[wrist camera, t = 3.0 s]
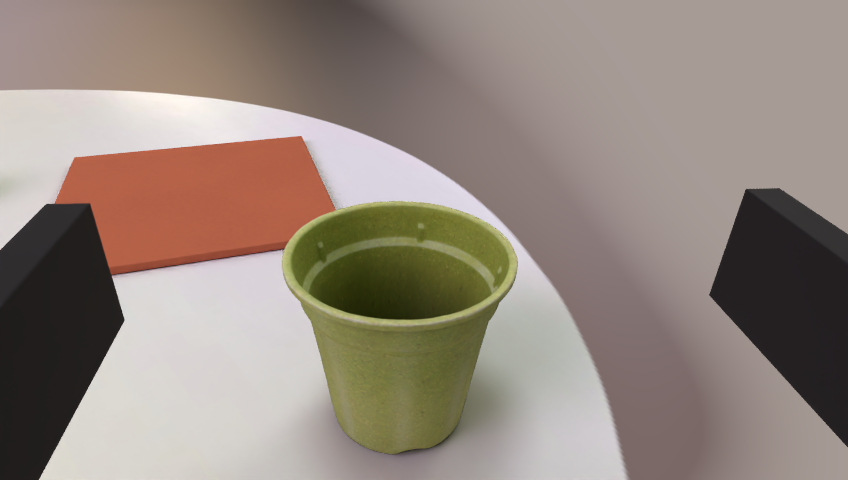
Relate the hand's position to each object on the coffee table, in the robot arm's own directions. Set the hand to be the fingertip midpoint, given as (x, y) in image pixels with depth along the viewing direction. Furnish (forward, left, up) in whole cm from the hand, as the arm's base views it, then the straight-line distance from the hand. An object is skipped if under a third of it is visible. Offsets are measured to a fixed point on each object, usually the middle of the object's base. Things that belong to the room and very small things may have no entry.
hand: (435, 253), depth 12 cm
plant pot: (-2, -9, -15) cm, 18 cm away
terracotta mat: (+7, -35, -15) cm, 39 cm away
